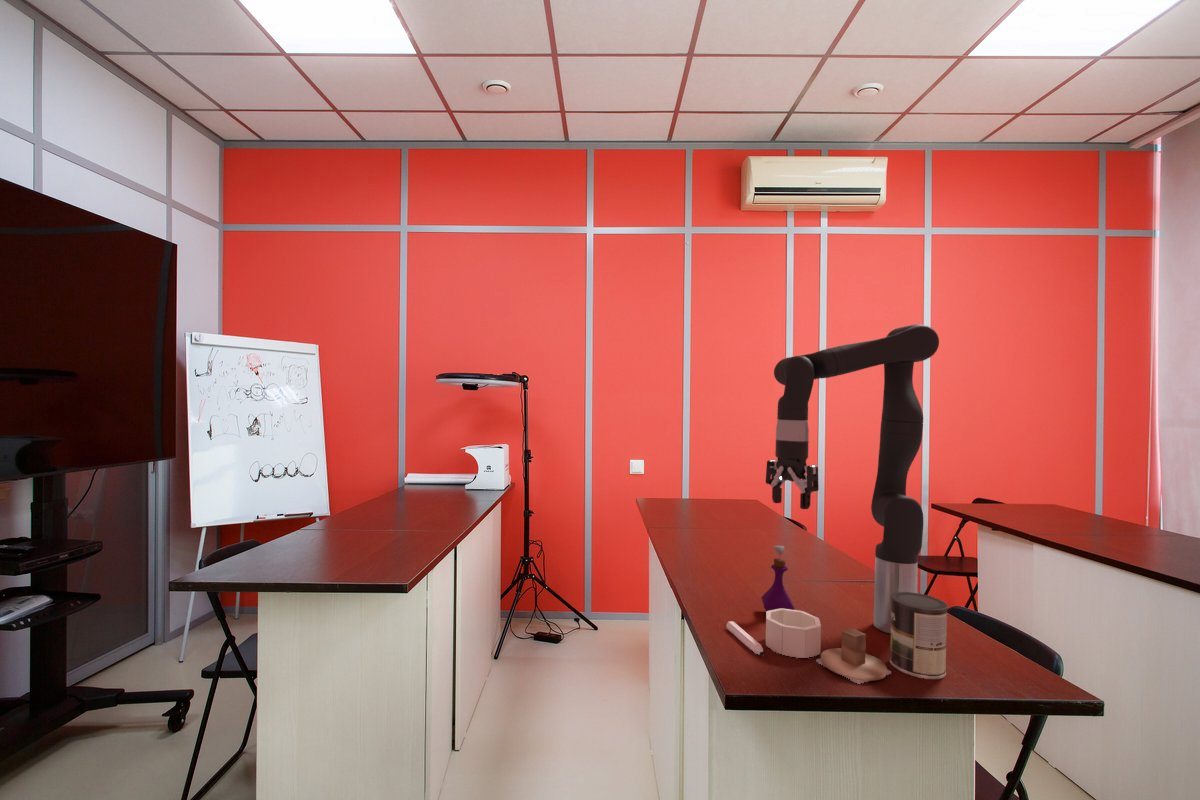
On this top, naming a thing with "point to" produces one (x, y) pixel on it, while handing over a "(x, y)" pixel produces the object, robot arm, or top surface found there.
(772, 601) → the perfume bottle
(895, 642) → the coffee can
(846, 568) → the top surface
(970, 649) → the top surface
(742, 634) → the marker
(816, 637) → the pot
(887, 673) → the mat
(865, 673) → the lid
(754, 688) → the top surface
